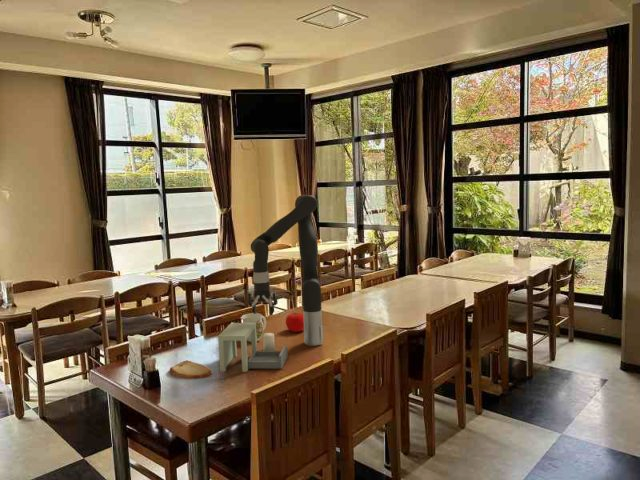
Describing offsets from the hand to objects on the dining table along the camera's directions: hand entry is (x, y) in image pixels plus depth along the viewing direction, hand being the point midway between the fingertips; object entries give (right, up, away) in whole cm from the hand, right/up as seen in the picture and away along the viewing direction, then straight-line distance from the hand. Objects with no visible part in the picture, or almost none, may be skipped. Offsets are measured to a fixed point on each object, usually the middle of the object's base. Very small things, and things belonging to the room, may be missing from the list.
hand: (263, 313), depth 233 cm
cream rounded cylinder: (+3, -19, 0) cm, 19 cm away
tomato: (+14, -15, +34) cm, 40 cm away
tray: (+4, -20, -14) cm, 25 cm away
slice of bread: (-29, -23, -21) cm, 43 cm away
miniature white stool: (-9, -21, -12) cm, 26 cm away
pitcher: (-7, -17, +21) cm, 28 cm away
